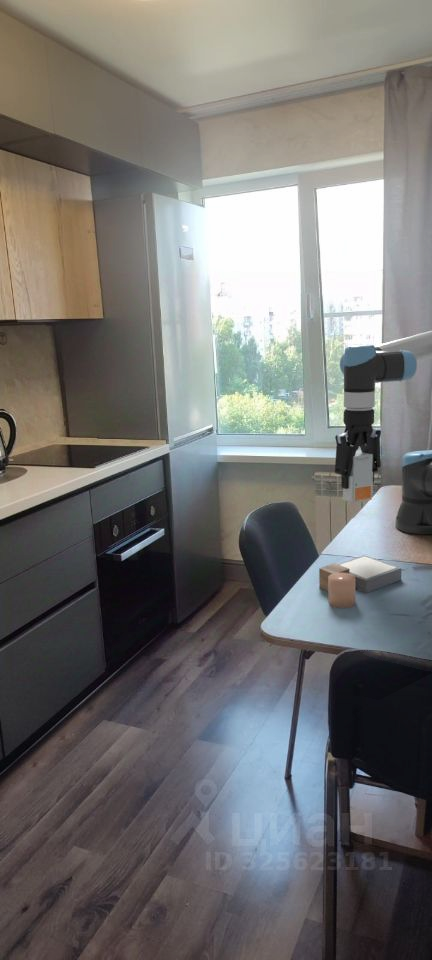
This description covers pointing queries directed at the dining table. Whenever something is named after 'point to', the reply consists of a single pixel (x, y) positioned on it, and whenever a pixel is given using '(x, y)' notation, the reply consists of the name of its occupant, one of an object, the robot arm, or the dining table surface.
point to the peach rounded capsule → (341, 590)
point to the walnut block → (327, 571)
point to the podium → (372, 573)
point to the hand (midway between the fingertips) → (357, 498)
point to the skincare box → (362, 476)
